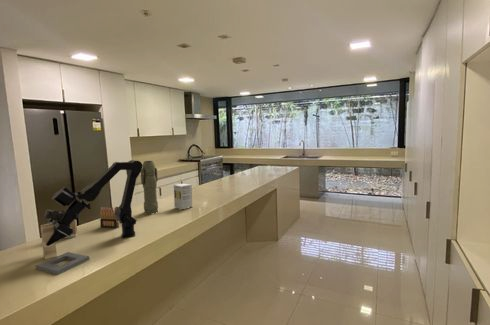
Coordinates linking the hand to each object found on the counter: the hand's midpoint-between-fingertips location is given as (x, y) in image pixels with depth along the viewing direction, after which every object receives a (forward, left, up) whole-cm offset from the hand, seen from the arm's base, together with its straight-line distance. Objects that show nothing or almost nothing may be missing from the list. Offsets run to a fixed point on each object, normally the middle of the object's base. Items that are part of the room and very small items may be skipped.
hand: (44, 242), depth 115 cm
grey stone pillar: (-55, +46, -7) cm, 72 cm away
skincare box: (-26, +4, -7) cm, 27 cm away
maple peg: (-1, +1, -7) cm, 7 cm away
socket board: (+10, +8, -7) cm, 15 cm away
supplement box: (-57, +68, -7) cm, 89 cm away
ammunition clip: (-33, +22, -7) cm, 40 cm away
